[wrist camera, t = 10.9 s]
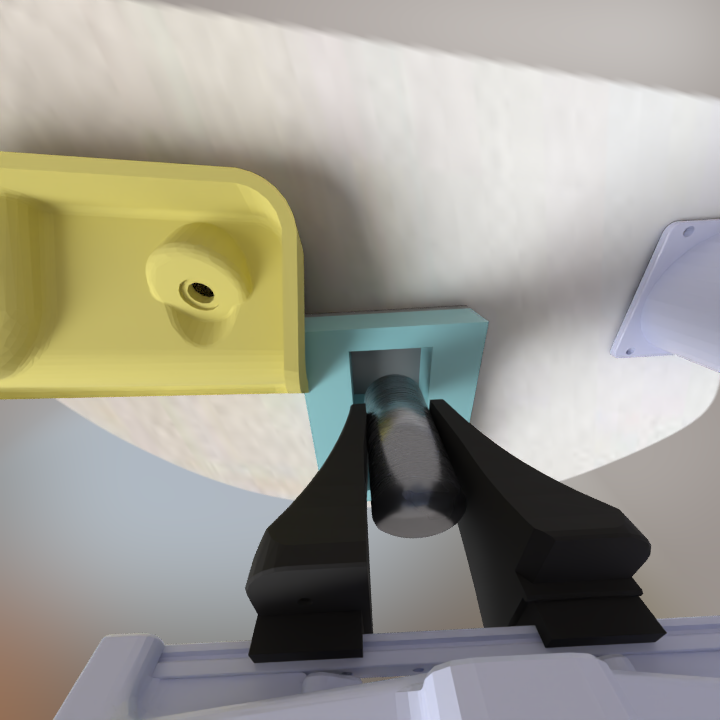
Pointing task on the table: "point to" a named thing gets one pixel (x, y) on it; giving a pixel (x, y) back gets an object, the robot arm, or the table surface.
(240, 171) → the plastic component
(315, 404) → the housing
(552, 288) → the table surface
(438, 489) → the peg
